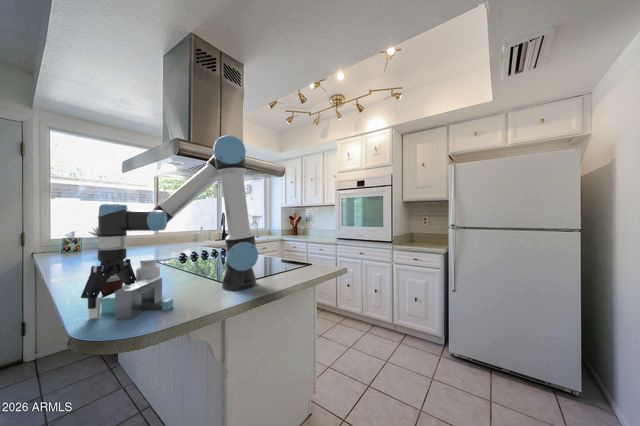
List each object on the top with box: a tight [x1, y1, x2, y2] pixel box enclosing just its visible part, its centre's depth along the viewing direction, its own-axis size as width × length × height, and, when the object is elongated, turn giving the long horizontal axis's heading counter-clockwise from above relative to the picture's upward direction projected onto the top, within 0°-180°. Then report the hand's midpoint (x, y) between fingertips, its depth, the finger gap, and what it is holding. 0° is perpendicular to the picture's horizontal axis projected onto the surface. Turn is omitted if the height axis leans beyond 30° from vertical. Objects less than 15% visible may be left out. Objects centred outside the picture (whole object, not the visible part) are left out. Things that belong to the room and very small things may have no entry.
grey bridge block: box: [114, 277, 163, 320], centre depth 84 cm, size 5×16×9 cm, turn 3°
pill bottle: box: [135, 257, 161, 283], centre depth 97 cm, size 8×8×15 cm
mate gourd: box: [100, 274, 124, 299], centre depth 97 cm, size 8×8×15 cm
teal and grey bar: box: [100, 293, 174, 314], centre depth 84 cm, size 21×5×5 cm, turn 94°
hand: (111, 309), depth 83 cm, fingers open, 13 cm apart
